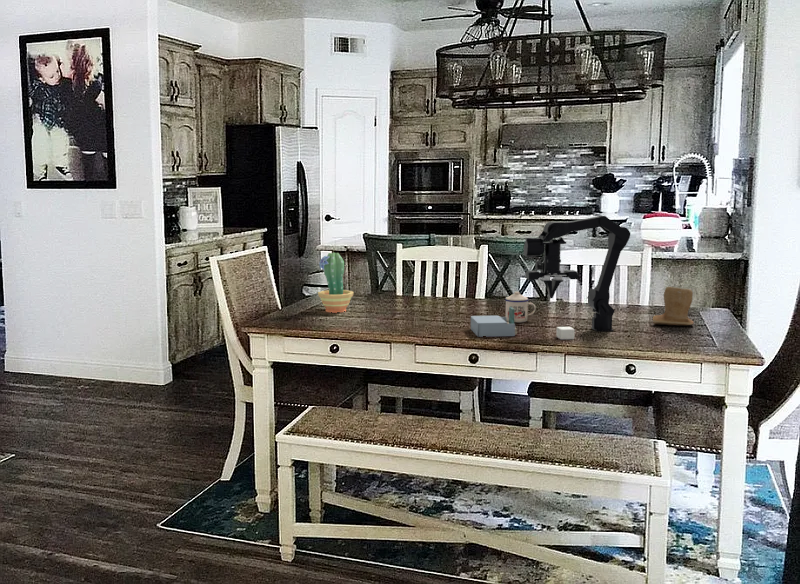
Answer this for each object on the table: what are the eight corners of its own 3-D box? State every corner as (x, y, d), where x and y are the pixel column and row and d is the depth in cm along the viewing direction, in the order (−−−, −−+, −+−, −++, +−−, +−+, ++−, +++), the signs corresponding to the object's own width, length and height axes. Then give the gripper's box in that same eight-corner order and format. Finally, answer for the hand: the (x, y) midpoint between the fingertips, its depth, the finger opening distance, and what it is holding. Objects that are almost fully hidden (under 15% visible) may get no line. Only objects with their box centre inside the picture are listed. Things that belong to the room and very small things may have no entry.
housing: (505, 328, 297) (506, 315, 296) (514, 335, 283) (515, 322, 282) (470, 329, 296) (470, 316, 295) (477, 336, 282) (478, 323, 281)
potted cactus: (321, 307, 344) (320, 250, 340) (356, 308, 342) (355, 251, 338) (314, 313, 328) (313, 254, 325) (350, 314, 327) (350, 254, 323)
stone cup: (692, 322, 308) (694, 285, 305) (694, 328, 296) (696, 289, 294) (651, 320, 312) (653, 283, 310) (652, 326, 301) (654, 287, 298)
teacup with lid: (504, 322, 309) (505, 293, 307) (504, 318, 318) (505, 289, 316) (535, 323, 307) (536, 293, 306) (534, 318, 316) (535, 290, 314)
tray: (508, 327, 297) (508, 305, 295) (516, 334, 284) (517, 311, 282) (472, 327, 295) (473, 305, 294) (479, 335, 282) (480, 311, 281)
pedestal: (569, 336, 283) (570, 326, 282) (574, 339, 278) (574, 329, 277) (556, 336, 282) (556, 326, 282) (560, 339, 277) (560, 329, 277)
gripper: (570, 253, 296) (568, 294, 298) (522, 254, 294) (521, 295, 297) (579, 256, 285) (578, 299, 287) (529, 257, 283) (528, 299, 286)
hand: (551, 298), depth 290 cm, fingers closed
